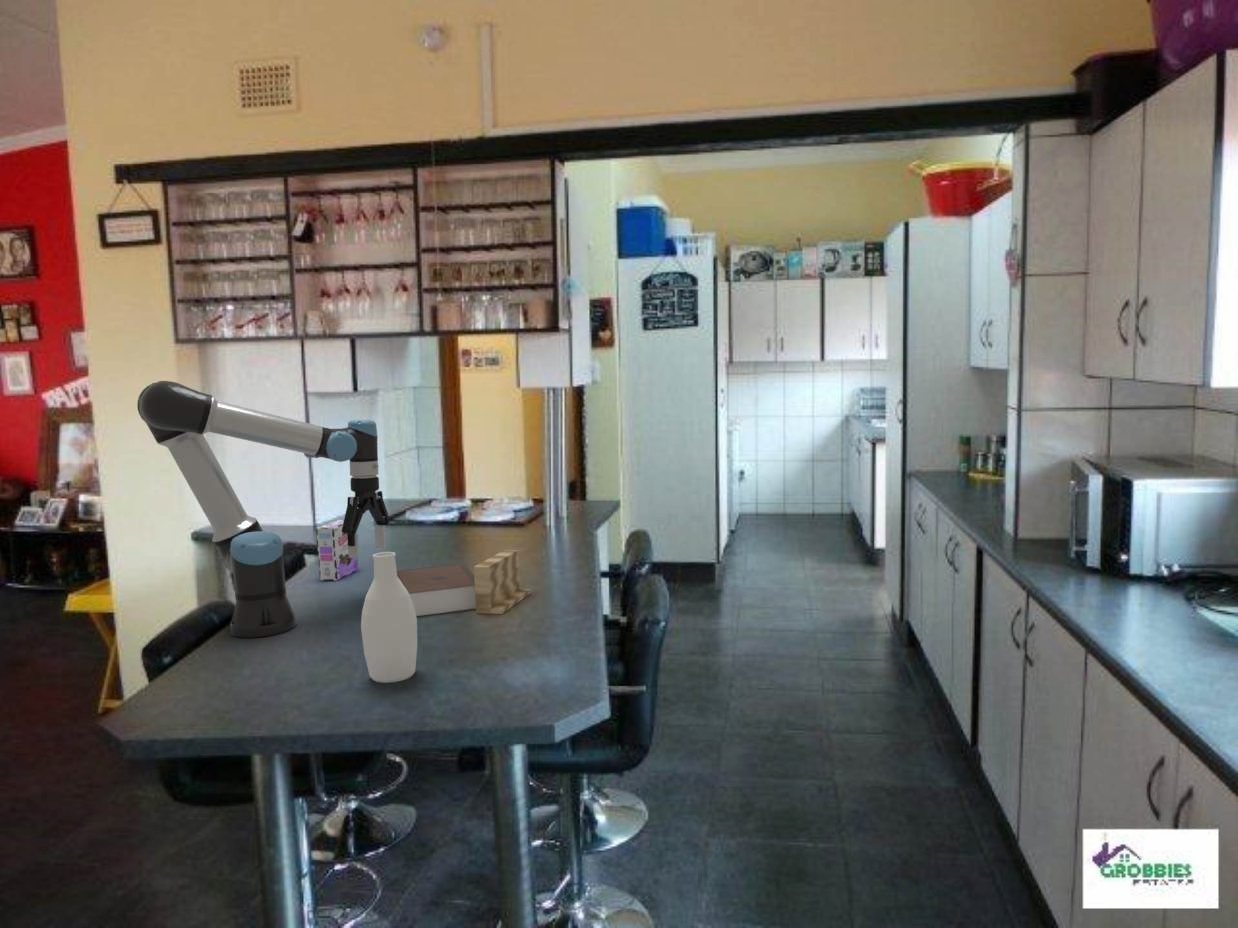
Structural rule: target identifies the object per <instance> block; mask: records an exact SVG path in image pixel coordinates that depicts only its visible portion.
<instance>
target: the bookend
mask: <svg viewBox="0 0 1238 928" xmlns="http://www.w3.org/2000/svg"><path fill="white" fill-rule="evenodd" d="M519 556H520V555H519V550H518V549H516V550H515V549H504V550H502V551H500V552H498V553H497V554H494V555H492V556H491V557H489V558H487V559H485V560H483V561H482V562H479V563H478V564H476V565H475V566H473V575H474V582H475V598H476V608H475V610H476V614H486V615H488V614H490V615H503V614H505V613H506V612H507V611H509V610H510V609H512V608H513V607H514V606H515V605H517V604H518V603H520V602H521V601H522V600H524V599H526V597H529V595H531V591H532V590H531V588H521V575H520V560H519V559H520V557H519Z"/></svg>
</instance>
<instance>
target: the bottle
mask: <svg viewBox="0 0 1238 928" xmlns="http://www.w3.org/2000/svg"><path fill="white" fill-rule="evenodd" d="M372 559H373V581H372V582H371V585H370V586H369V588H368V591H367V593H366V594H365V597H364V602H363V607H362V610H361V621H360V631H361V638H362V639H361V640H362V646H363V654H364V657H365V661H366V665H367V671H368V675H369V678H370V679H372V681H374V682H376V683H382V684H384V683H385V684H386V683H388V684H389V683H397V682H403V681H405V680H408V679H410V678H411V677H412V676H414V674H415V673H416V665H417V656H418V619H417V618H418V617H417V616H416V613H415V609H414V605H413V603H412V600H411V598H410V595H409V593H408V591H407V589H406V588H405V587H404V585H403V584H402V582H401V581H400V579H399V578H398V576H397V571H398V570H397V563H396V552H394V551H382V552H377V553H373V554H372Z"/></svg>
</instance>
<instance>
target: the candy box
mask: <svg viewBox="0 0 1238 928" xmlns="http://www.w3.org/2000/svg"><path fill="white" fill-rule="evenodd" d="M343 522H344V519H337V520H336V521H333V522H330V523H326V524H324V525H321V526H319V527H318V526H317V527H316V528H315V530H316V531H315V533H316V545H317V557H318V558H317V559H318V571H319V581H323V582H325V581H328V582H329V581H330V582H336V581H339V580H342V579H344V578H345V577H348V576H349V575H352V574H354V573H356V572H358V571H359V560H358V559H359V558H349V554H348V537H347V534H344V533H342V527H343Z"/></svg>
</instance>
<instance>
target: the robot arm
mask: <svg viewBox="0 0 1238 928" xmlns="http://www.w3.org/2000/svg"><path fill="white" fill-rule="evenodd" d="M136 403H137V405H136V406H137V411H138V412H137V413H138V414H139V417H140V419H141V420H142V421H143V422H144V423H145V424H146V426H147V427H148V430H149V431H150V433H151V435H152V436H153V438H154V439H155V441H156V443H157V444H158V445H160V446H163V447H166V448H167V449H168V451H169V453H170V455H171V456H172V458H173V460H174V461H175V463H176V465H177V467H178V468H179V471H180V472H181V474H182V476H183V478H184V479H185V481H186V483H187V485H188V486H189V488H190V490H191V492H192V494H193V495H194V497H195V498H196V501H197V502H198V504H199V506H200V508H201V509H202V512H203V514H205V517H206V519H207V520H208V522H209V523H210V524H209V525H210V526H211V527H212V529H213V530H214V533H213V535H212V539H211V541H212V542H213V544H214V546H215V548H216V549H217V552H218V553H219V554H220V557H221V561H222V563H223V565H224V567H225V568H226V569H227V570H228V571H229V572H231V574H232V575H233V585H234V596H235V597H234V598H235V603H234V608H233V612H232V615H231V621H230V625H229V626H230V627H229V628H230V629H229V630H230V635H232V636H233V637H237V638H248V639H250V638H262V637H269V636H273V635H277V634H281V633H285V632H288V631H290V630H292V629H294V628H295V627H296V625H297V616H296V613H295V612H294V610H293V607H292V605H291V602H290V600H289V597H288V596H287V588H286V579H285V578H286V576H285V565H284V546H283V542H282V538H281V537H280V536H279V535H278V534H277V533H274V532H271V531H269V532H268V531H264V530H263V529H262V527H261V525H260V523H259V521H258V519H257V518H256V517H252V516H249V515H248V514H247V513H246V510H245V509H244V507H243V505H242V503H241V501H240V500H239V498H238V496H237V493H235V490H234V489H233V487H232V485H231V482H230V481H229V479H228V478H227V476H226V474H225V472H224V470H223V469H222V467H221V465H220V463H219V461H218V459H217V458H216V456H215V453H214V452H213V450H212V447H211V446H210V444H209V443H208V441H207V439H206V437H205V434H207V433H212V434H217V435H222V436H227V437H231V438H235V439H241V440H244V441H248V442H253V443H258V444H262V445H267V446H270V447H275V448H279V449H285V450H288V451H293V452H297V453H303V455H304V457H306V458H307V459H313V458H315V459H318V458H323V459H328V460H332V461H335V462H338V463H339V462H340V463H341V462H346V461H349V475H350V477H351V478H350V491H352V492H353V493H354V496H348V497H347V503H346V504H347V505H346V510H345V515H344V519H343V520H344V522H343V527H342V533H344V534H347V537H348V554H349V558H358V559H360V553H359V552H360V550H359V549H360V547H359V533H357V531H358V528H359V526H360V523H361V521H362V518H363V515H364V514H365V513H366V512H367V511H369V513H370V515H371V517H372V518H373V520H374V522H375V523H376V525H374V536H375V540H374V542H375V549H379V550H384V549H386V547H387V546H386V526H388V525H389V524H390V523H389V522H390V516H389V514H388V510H387V508H386V504H385V501H384V496H383V491H382V490H380V478H379V477H378V475H379V455H378V454H379V453H378V450H379V449H378V437H379V436H378V430H377V423H376V422H375V421H374V420H372V419H358V420H357V419H356V420H349V421H348V423H347V426H346V427H342V428H329V427H323V426H320V425H318V424H317V425H315V424H312V423H308V422H304V421H299V420H297V419H292V418H289V417H288V418H287V417H283V416H280V415H275V414H271V413H268V412H264V411H260V410H257V409H256V410H255V409H252V408H248V407H244V406H240V405H235V404H231V403H227V402H223V401H219V400H217V399H216V398H215V396H214V395H212V394H208V393H204V392H201V391H198V390H195V389H193V388H190V387H188V386H185V385H183V384H181V383H179V382H175V381H171V380H170V381H169V380H159V381H157V382H152V383H151V384H149V385H147V386H146V387H145V388H143V390H141V392H140V393H139V396H138V399H137V402H136Z"/></svg>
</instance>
